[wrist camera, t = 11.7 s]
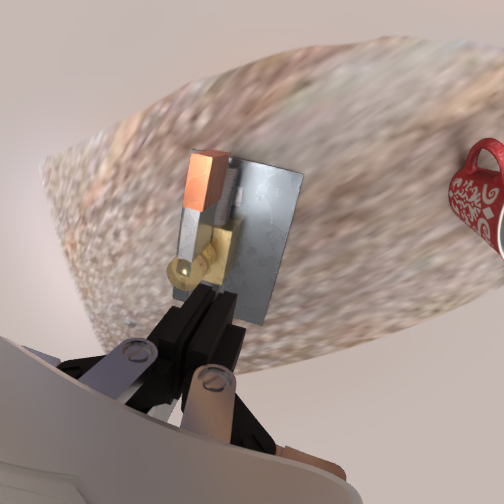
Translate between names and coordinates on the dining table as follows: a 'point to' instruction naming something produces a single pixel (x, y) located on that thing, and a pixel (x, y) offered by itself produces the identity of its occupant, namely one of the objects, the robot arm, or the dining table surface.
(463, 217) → the mug
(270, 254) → the valve
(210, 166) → the lever
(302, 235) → the dining table surface
